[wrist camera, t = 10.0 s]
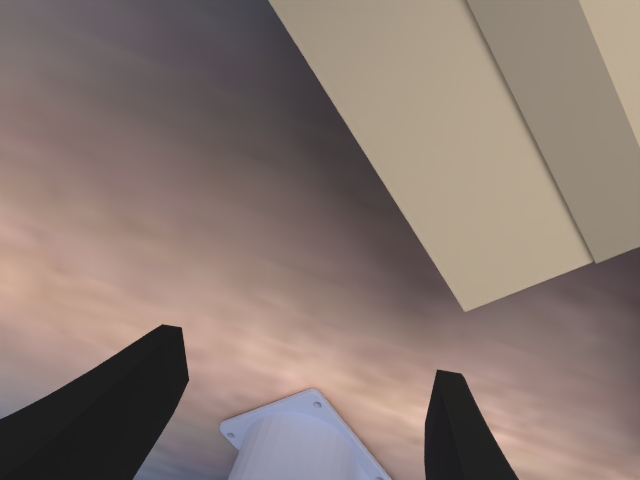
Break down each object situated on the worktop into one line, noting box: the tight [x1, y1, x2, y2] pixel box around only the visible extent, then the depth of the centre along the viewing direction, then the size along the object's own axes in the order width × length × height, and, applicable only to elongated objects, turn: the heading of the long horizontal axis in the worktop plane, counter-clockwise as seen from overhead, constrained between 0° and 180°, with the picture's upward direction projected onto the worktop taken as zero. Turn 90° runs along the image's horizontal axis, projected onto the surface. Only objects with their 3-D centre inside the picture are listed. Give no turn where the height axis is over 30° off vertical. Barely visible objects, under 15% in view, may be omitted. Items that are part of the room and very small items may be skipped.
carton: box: [268, 0, 640, 312], centre depth 13 cm, size 12×10×6 cm
